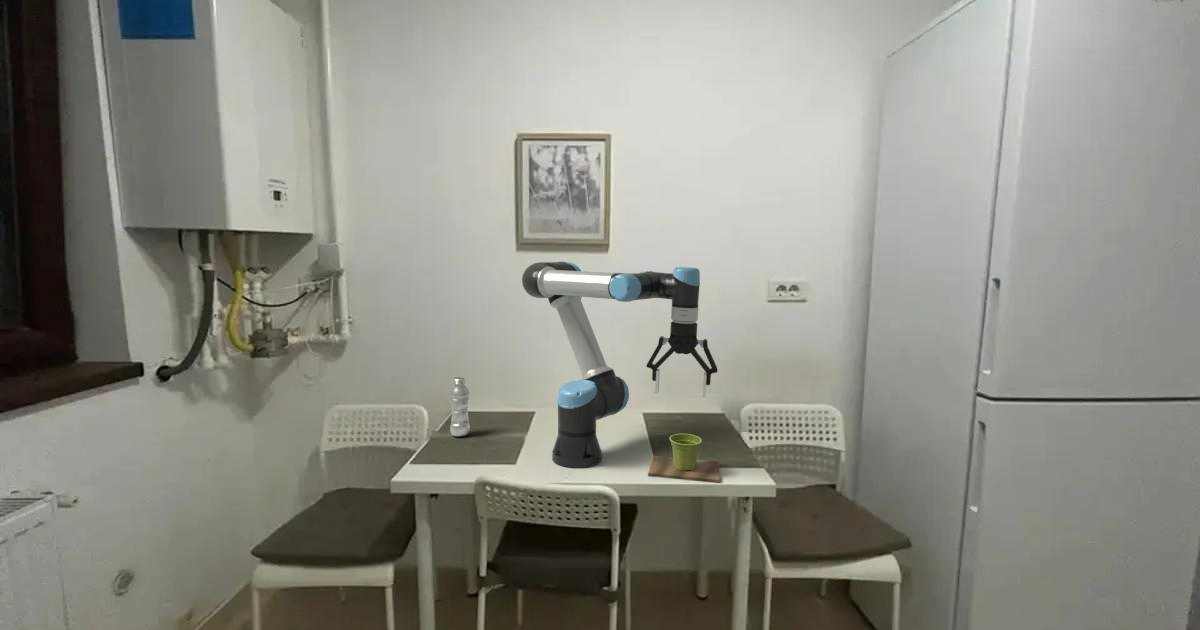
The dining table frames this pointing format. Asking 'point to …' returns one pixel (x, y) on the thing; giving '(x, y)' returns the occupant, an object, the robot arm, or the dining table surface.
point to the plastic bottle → (459, 408)
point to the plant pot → (685, 450)
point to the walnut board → (701, 472)
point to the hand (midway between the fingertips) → (680, 393)
